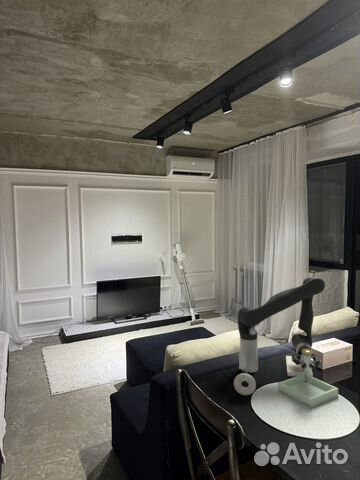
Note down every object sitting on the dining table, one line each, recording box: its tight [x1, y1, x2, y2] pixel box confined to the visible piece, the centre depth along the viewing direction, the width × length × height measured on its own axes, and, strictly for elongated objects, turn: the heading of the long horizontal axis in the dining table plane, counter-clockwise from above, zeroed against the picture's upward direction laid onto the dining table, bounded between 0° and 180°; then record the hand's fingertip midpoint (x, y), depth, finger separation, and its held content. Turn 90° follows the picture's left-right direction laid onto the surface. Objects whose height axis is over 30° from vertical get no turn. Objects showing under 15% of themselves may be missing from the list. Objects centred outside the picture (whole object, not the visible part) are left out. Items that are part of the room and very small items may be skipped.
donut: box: [233, 372, 257, 396], centre depth 149 cm, size 10×3×10 cm, turn 77°
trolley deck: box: [285, 355, 314, 377], centre depth 176 cm, size 22×12×2 cm, turn 164°
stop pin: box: [302, 349, 314, 382], centre depth 149 cm, size 5×5×14 cm
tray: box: [278, 374, 339, 409], centre depth 149 cm, size 18×18×4 cm
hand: (308, 367), depth 146 cm, fingers closed on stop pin, 3 cm apart
